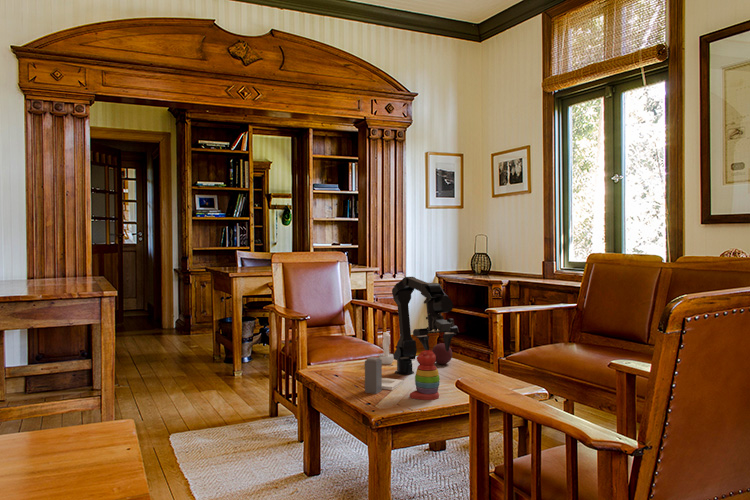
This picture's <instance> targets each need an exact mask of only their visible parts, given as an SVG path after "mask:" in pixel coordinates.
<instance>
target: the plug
mask: <svg viewBox="0 0 750 500" xmlns="http://www.w3.org/2000/svg"><path fill="white" fill-rule="evenodd" d="M382 365H383V364H382V359H380V358H379V356H369V357H367V358H366V360H364V393H367V394H375V395H378V393H381V392H382V390H383V389H382V378H383V377H382V376H383V375H382V373H383V371H382V367H383V366H382Z"/></svg>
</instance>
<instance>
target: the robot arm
mask: <svg viewBox="0 0 750 500" xmlns="http://www.w3.org/2000/svg"><path fill="white" fill-rule="evenodd" d="M415 291H418V292H420V294H421V296H423V297H424V298H425V299H424V300H423V304H424V305H426V315H427V316H425V320H427V326H426V327H425V328H423V327H422V328H414V329H413V331H412V332H411V320H410V310H409V307H410V306H409V303H410V302H411V299H412V294H413V292H415ZM391 294H392V299H393V301H394V302H395V304H396V305H397V314H398V316H397V317H398V327H399V328H398V329H399V339H398V341H397V343H396V349H395V351H394V353H392V354H393V356H394V361H397V362H396V363H397V364H396V371H394V373H395V374H398V375H403V376H407V375H410V374H411V375H412V374H414V373H415V371H413V360H416V358H417V357H416V356H417V351H418V349H417V341H416V340H415V339H414V338H413V337H416V339H418V340H419V342H420V343H421V345H422V347H423V348H424V350H430V345H429V339H430V335H429V334H441V333H444V334H442V337H443V343H444V344H445V349H446V351H449V347H450V346H451V342H452V340H453V337H454V336H456V335H457V333H460V331H459V327H458V326H457V325H455V320H454V318H447V319H445V317H444V315H442V314H443V313H450V312H451V311H452V310H453V309H454V302H453V300H452V299H451V298H450V297H449V295H447V294H446V293H445V292H444V289H443V288H442V286H441V284H440V283H439V282H426V281H424V280H421V279H418V278H416V277H414V276H405V277H402V279H401V280H400V281H399V282H397V283H395V285H394V286H393V288H392V289H391ZM412 336H413V337H412ZM450 348H451V347H450Z"/></svg>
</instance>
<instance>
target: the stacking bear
mask: <svg viewBox="0 0 750 500" xmlns="http://www.w3.org/2000/svg"><path fill="white" fill-rule="evenodd" d="M416 356H417V357H416V361H417V363H418V364H419V365H418V366H417V368H416V370H415V371H416V372H415V376H414V384H415V390H413V391H411V392H410V393H409V398H410V399H415V400H423V401H430V400H437V399H438V398H439V397H440V394H439V387H440V382H441V381H440V375H439V369H438V368H437V366H436V365H435V363H436V362H435V361H436V356H435V354H434V353H433V351H432V349H430V348H429V350H425V349H424V350H422V351H420V353H419V354H418V355H416Z"/></svg>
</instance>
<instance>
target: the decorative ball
mask: <svg viewBox="0 0 750 500" xmlns="http://www.w3.org/2000/svg"><path fill="white" fill-rule="evenodd" d="M431 350H432V351H433V353H434V354H435V356H436V361H435V363H436V364H439V365H445V364H448V363H450V361H451V359H452V358H453V351H452V348H451V347H449V351H446V349H445V344H444V342H442V343H440V342H439V343H436V344H435V345H434V346H433V347H432V349H431Z"/></svg>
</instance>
